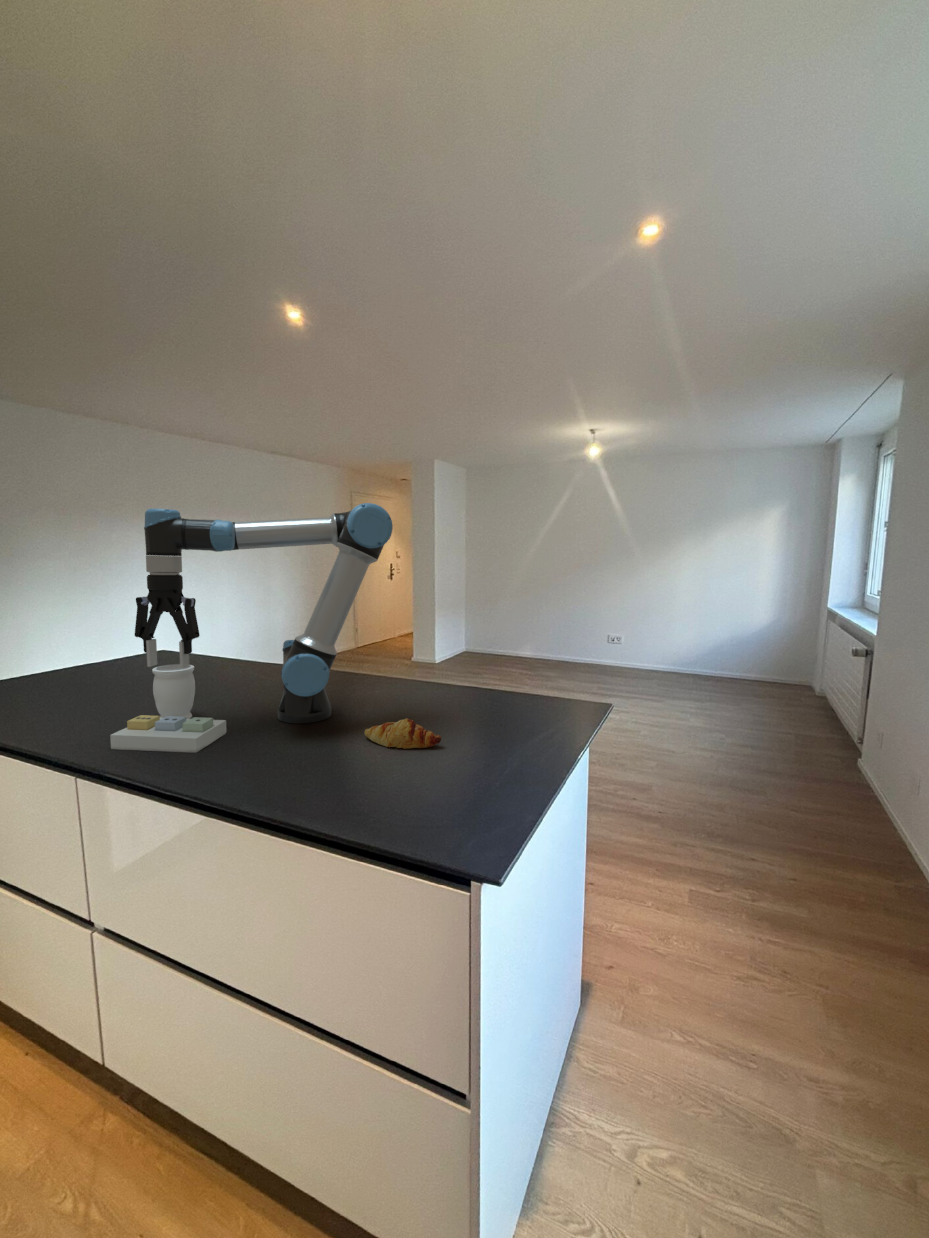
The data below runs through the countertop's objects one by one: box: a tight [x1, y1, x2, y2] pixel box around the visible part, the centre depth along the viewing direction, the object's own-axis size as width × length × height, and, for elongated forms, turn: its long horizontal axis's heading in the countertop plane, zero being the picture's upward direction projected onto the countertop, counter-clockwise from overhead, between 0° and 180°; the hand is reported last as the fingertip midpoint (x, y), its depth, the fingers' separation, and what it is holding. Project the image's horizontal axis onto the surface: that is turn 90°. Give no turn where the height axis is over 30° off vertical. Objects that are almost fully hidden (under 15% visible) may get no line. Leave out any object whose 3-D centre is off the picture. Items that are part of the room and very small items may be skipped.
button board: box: [109, 718, 227, 754], centre depth 129 cm, size 21×14×4 cm, turn 87°
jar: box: [152, 663, 196, 719], centre depth 146 cm, size 11×10×15 cm
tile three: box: [126, 714, 160, 730], centre depth 129 cm, size 5×5×3 cm
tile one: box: [182, 716, 214, 732], centre depth 128 cm, size 5×5×3 cm
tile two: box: [155, 716, 186, 731], centre depth 129 cm, size 5×5×3 cm
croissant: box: [363, 718, 442, 750], centre depth 131 cm, size 21×10×8 cm, turn 75°
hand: (168, 666), depth 127 cm, fingers open, 8 cm apart
